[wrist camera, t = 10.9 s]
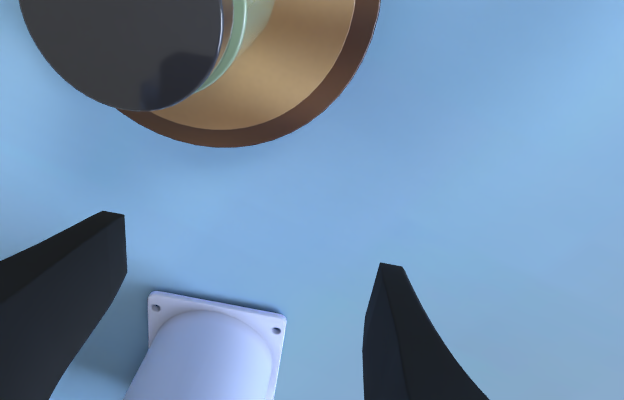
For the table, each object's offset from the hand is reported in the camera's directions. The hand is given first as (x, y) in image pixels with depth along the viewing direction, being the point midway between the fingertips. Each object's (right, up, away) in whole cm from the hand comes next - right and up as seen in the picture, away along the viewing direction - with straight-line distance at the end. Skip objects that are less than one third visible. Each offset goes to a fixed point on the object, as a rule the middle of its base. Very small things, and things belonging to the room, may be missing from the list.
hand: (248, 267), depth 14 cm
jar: (-2, +10, +4) cm, 11 cm away
